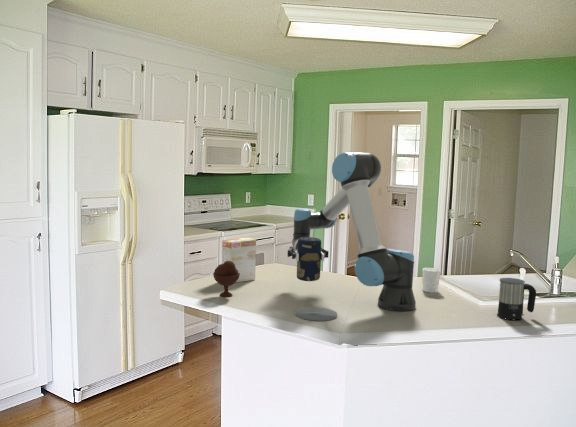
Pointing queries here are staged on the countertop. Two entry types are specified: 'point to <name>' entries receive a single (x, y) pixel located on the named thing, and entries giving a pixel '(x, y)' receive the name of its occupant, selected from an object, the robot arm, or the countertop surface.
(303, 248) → the canister
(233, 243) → the coffeecake box
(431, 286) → the white cup
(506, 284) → the milk frother
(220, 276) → the ice cream bowl
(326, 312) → the disc
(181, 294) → the countertop surface
